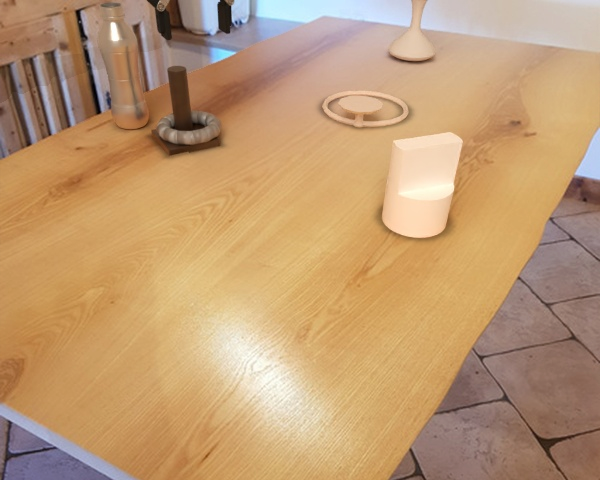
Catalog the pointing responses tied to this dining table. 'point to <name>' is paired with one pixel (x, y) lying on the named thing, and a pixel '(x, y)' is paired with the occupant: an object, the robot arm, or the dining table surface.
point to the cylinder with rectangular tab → (421, 184)
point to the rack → (181, 114)
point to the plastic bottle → (122, 68)
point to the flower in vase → (413, 38)
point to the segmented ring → (190, 136)
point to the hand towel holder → (363, 107)
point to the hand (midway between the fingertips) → (196, 34)
